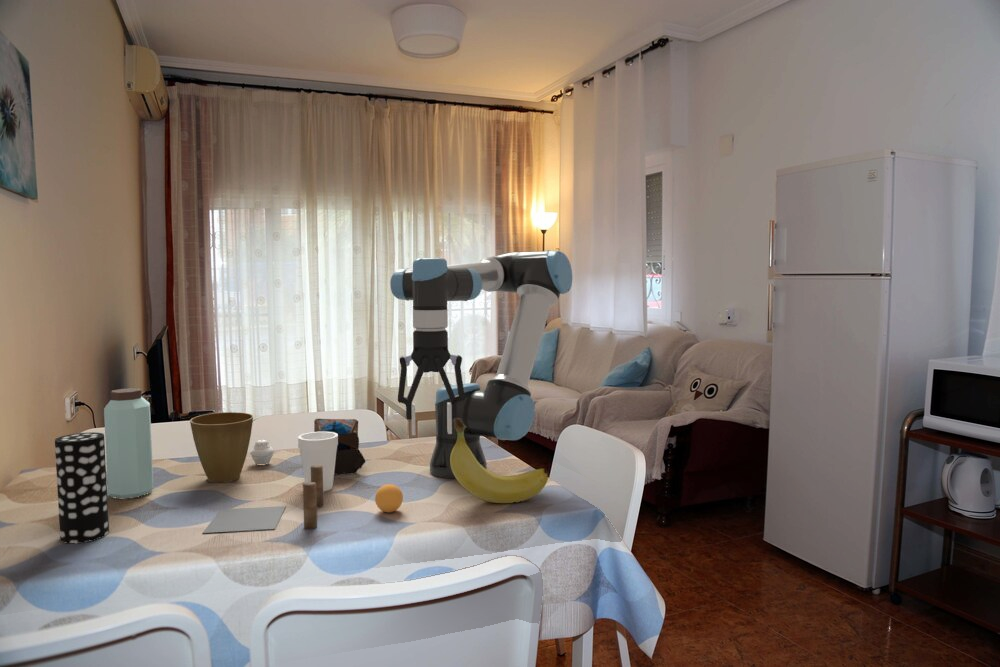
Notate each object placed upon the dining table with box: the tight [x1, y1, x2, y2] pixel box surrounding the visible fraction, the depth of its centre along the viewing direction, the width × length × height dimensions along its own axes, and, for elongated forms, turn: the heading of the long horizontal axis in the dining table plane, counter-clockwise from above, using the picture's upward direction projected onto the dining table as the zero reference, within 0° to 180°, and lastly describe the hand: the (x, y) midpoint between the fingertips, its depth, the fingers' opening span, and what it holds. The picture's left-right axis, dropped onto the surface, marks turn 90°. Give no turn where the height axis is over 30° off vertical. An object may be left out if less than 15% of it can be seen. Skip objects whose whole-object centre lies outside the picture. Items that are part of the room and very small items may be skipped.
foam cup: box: [297, 431, 338, 492], centre depth 164 cm, size 10×9×13 cm
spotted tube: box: [54, 431, 110, 544], centre depth 133 cm, size 8×8×20 cm
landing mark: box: [202, 505, 287, 535], centre depth 143 cm, size 14×14×1 cm
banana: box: [450, 418, 550, 504], centre depth 152 cm, size 23×6×20 cm, turn 100°
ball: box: [374, 483, 404, 513], centre depth 147 cm, size 6×6×6 cm
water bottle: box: [103, 387, 154, 499], centre depth 160 cm, size 10×10×25 cm
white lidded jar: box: [249, 439, 275, 465], centre depth 186 cm, size 6×6×7 cm
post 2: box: [311, 465, 325, 508], centre depth 151 cm, size 3×3×9 cm
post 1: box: [302, 482, 318, 530], centre depth 138 cm, size 3×3×9 cm
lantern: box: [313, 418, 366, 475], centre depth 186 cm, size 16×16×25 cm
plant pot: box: [189, 411, 254, 483], centre depth 172 cm, size 15×15×16 cm
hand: (431, 433), depth 148 cm, fingers open, 7 cm apart
